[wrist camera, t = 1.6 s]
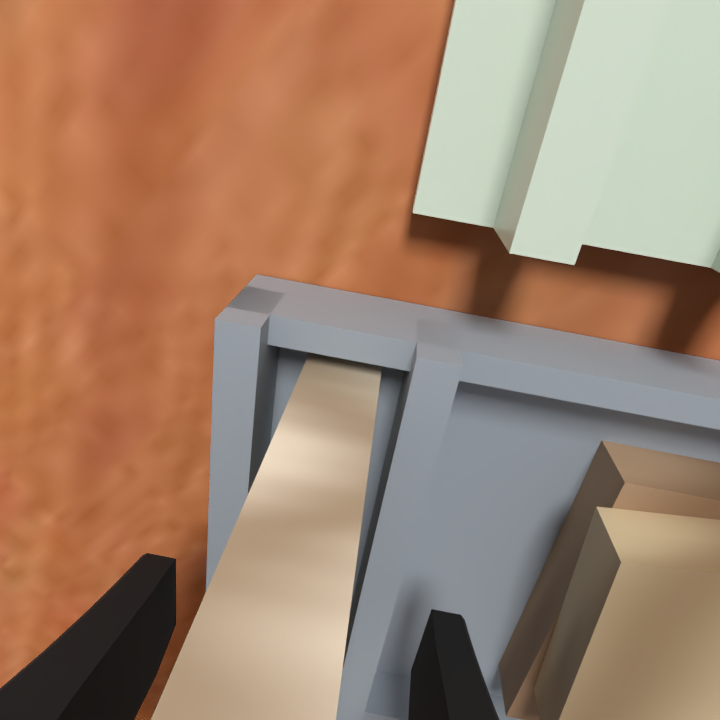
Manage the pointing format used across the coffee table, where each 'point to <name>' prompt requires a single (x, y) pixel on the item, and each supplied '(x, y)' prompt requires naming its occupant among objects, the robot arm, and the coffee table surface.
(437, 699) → the robot arm
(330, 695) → the birch sheet
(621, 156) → the stand
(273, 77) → the coffee table surface
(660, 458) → the offcut lower
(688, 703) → the offcut upper
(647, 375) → the tray
